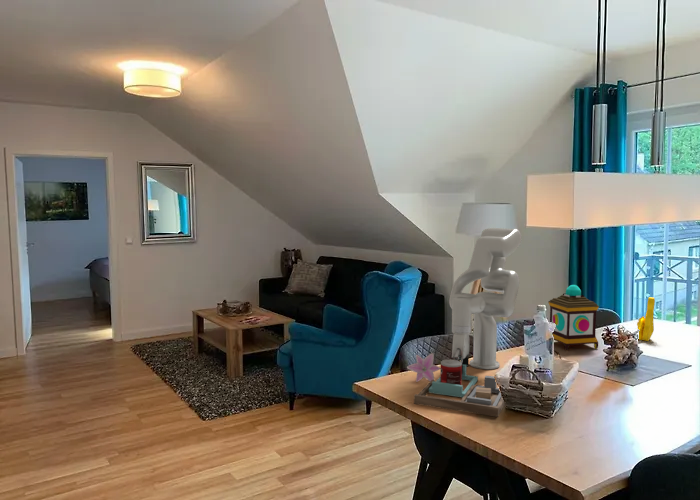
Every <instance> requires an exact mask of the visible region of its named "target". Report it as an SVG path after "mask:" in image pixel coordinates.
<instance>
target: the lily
mask: <svg viewBox="0 0 700 500" xmlns="http://www.w3.org/2000/svg"><path fill="white" fill-rule="evenodd" d="M434 357H435V354H434V352H433V353H432V352H431V353H430V354H428V355H427V356H426V357H424V358H423V357H421V356H420V355H418V354H416V355H415V359H416V362H415V363H414V362H413V363H412V364H410V365H409V364H408V365H407V366H406V368H407V370H409V371H412V372H414V373H416V378H415V381H416V382H419V381H421V380H423V378H425V379H426V380H427V381H429V382H430V381H431V380H435V375H434V374H435V373H434V372H437V371H440V369H441V366H437V365H435V364H434V360H435V358H434Z"/></svg>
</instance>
